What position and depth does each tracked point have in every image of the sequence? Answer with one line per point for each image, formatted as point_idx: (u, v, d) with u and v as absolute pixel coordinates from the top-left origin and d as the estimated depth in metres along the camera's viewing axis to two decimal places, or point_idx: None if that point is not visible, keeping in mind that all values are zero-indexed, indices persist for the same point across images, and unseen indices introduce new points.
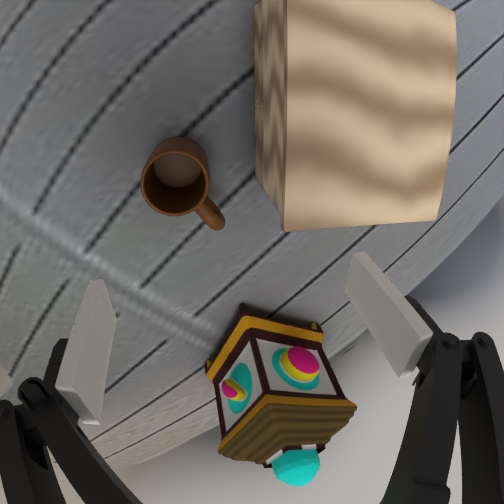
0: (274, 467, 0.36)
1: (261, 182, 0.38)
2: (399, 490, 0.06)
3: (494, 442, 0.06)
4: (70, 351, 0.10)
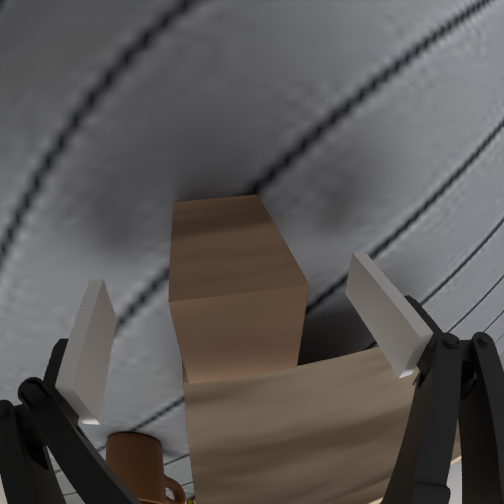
0: None
1: None
2: (399, 490, 0.06)
3: (494, 442, 0.06)
4: (70, 351, 0.10)
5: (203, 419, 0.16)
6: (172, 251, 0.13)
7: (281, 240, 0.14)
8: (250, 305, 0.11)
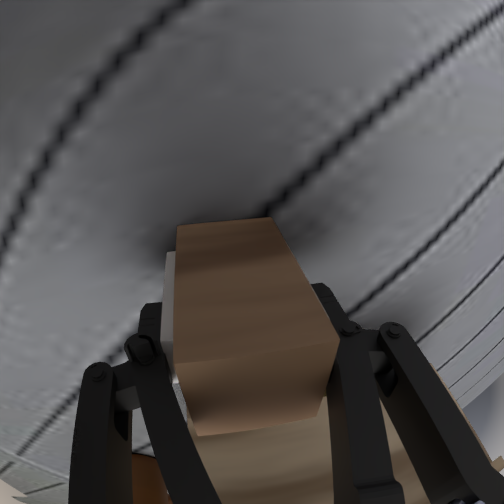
0: None
1: None
2: (346, 495, 0.06)
3: (440, 438, 0.07)
4: (168, 310, 0.12)
5: (209, 460, 0.14)
6: (176, 292, 0.11)
7: (303, 278, 0.12)
8: (270, 365, 0.09)
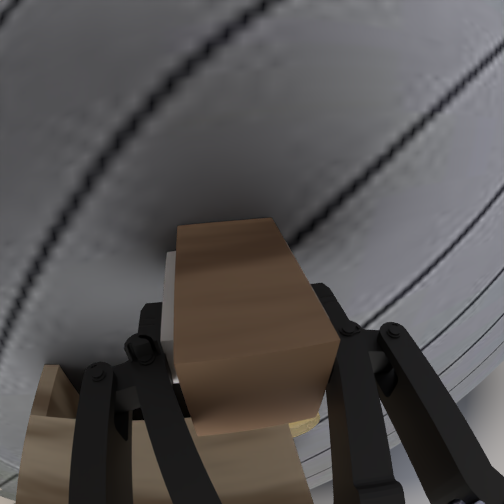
0: None
1: None
2: (345, 496, 0.06)
3: (440, 438, 0.07)
4: (168, 310, 0.12)
5: (34, 451, 0.13)
6: (176, 292, 0.11)
7: (304, 279, 0.12)
8: (270, 365, 0.09)
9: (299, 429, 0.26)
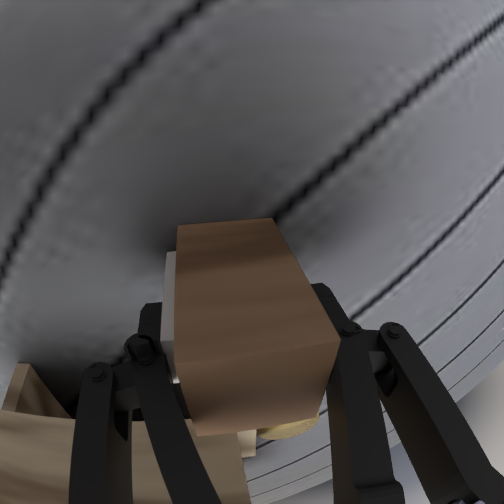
0: None
1: None
2: (346, 496, 0.06)
3: (440, 438, 0.07)
4: (168, 310, 0.12)
5: (2, 444, 0.12)
6: (176, 292, 0.11)
7: (304, 279, 0.12)
8: (271, 365, 0.09)
9: (299, 427, 0.26)
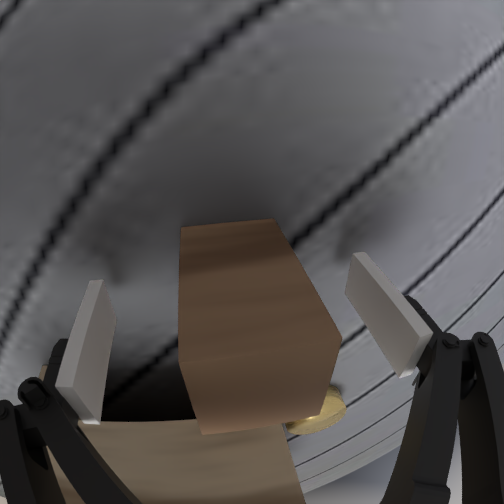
0: None
1: None
2: (399, 490, 0.06)
3: (494, 442, 0.06)
4: (70, 351, 0.10)
5: None
6: (180, 293, 0.11)
7: (306, 278, 0.12)
8: (274, 363, 0.09)
9: (326, 421, 0.26)
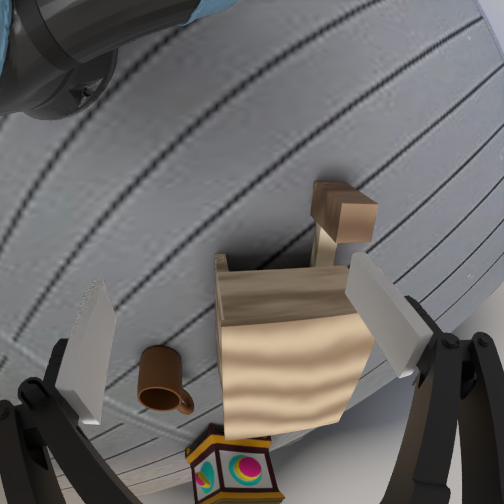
0: None
1: None
2: (399, 490, 0.06)
3: (494, 442, 0.06)
4: (70, 351, 0.10)
5: (228, 285, 0.37)
6: (331, 194, 0.36)
7: (364, 195, 0.37)
8: (362, 208, 0.34)
9: None
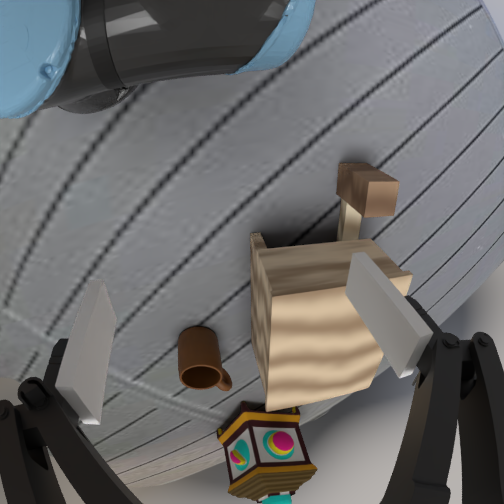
0: (263, 503, 0.53)
1: (255, 355, 0.56)
2: (399, 490, 0.06)
3: (494, 442, 0.06)
4: (70, 351, 0.10)
5: (269, 260, 0.40)
6: (357, 173, 0.39)
7: (385, 174, 0.40)
8: (386, 185, 0.37)
9: None
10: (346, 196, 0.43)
